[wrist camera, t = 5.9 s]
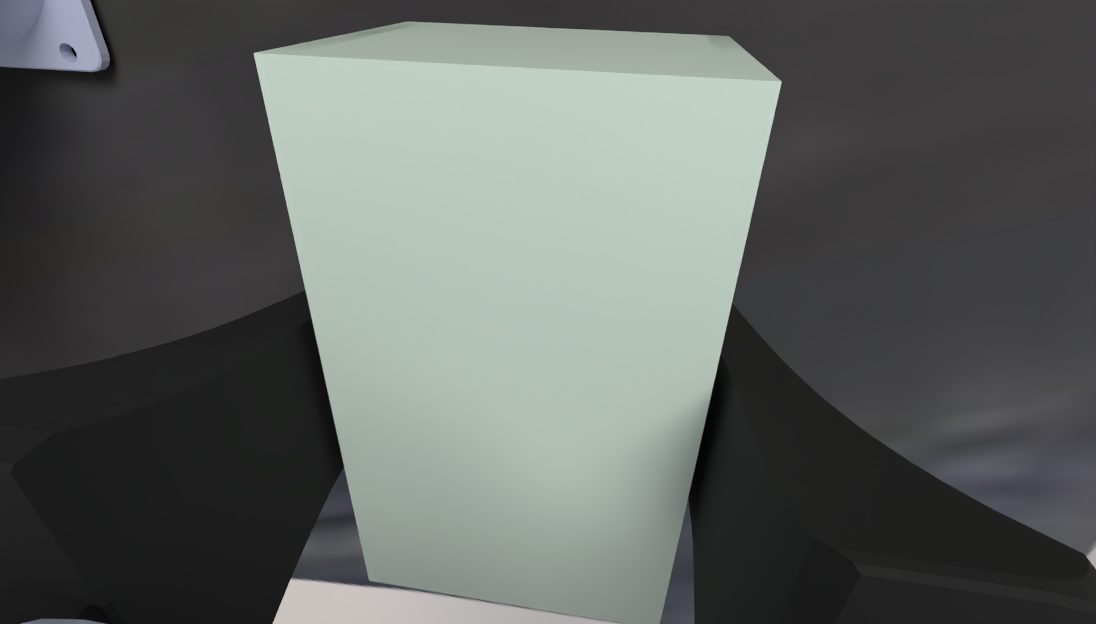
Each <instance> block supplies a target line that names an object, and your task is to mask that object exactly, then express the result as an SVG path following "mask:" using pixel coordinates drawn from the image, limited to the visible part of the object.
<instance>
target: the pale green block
mask: <svg viewBox="0 0 1096 624" xmlns="http://www.w3.org/2000/svg"><path fill="white" fill-rule="evenodd" d="M254 57H255V61H256V66H257V71H258V75H259V80H260V84H261V89H262V93H263V98H264V103H265V107H266V112H267V116H268V121H269V125H270V130H271V135H272V139H273V144H274V148H275V153H276V157H277V162H278V167H279V171H280V176H281V180H282V185H283V189H284V194H285V199H286V203H287V208H288V212H289V217H290V221H291V226H292V231H293V235H294V240H295V244H296V249H297V253H298V258H299V263H300V267H301V272H302V276H303V281H304V285H305V290H306V295H307V299H308V304H309V308H310V313H311V317H312V322H313V327H314V331H315V336H316V340H317V345H318V349H319V354H320V359H321V363H322V368H323V372H324V377H325V381H326V386H327V391H328V395H329V400H330V404H331V409H332V413H333V418H334V423H335V427H336V432H337V436H338V441H339V445H340V450H341V455H342V459H343V464H344V468H345V473H346V477H347V482H348V487H349V491H350V496H351V500H352V505H353V509H354V514H355V519H356V523H357V528H358V532H359V537H360V541H361V546H362V551H363V555H364V560H365V564H366V569H367V573H368V578H369V581H374V582H380V583H386V584H392V585H398V586H404V587H410V588H415V589H421V590H427V591H433V592H439V593H445V594H451V595H457V596H463V597H469V598H475V599H481V600H487V601H492V602H498V603H504V604H510V605H516V606H522V607H528V608H534V609H540V610H546V611H552V612H558V613H563V614H569V615H575V616H581V617H587V618H593V619H599V620H605V621H611V622H617V623H623V624H660V620H661V616H662V612H663V607H664V603H665V598H666V594H667V589H668V585H669V580H670V576H671V572H672V567H673V563H674V558H675V554H676V549H677V545H678V540H679V536H680V531H681V527H682V523H683V518H684V514H685V509H686V505H687V500H688V496H689V491H690V487H691V483H692V478H693V474H694V469H695V465H696V460H697V456H698V451H699V447H700V443H701V438H702V434H703V429H704V425H705V420H706V416H707V411H708V407H709V403H710V398H711V394H712V389H713V385H714V380H715V376H716V371H717V367H718V363H719V358H720V354H721V349H722V345H723V340H724V336H725V331H726V327H727V322H728V318H729V314H730V309H731V305H732V300H733V296H734V291H735V287H736V282H737V278H738V274H739V269H740V265H741V260H742V256H743V251H744V247H745V242H746V238H747V234H748V229H749V225H750V220H751V216H752V211H753V207H754V202H755V198H756V194H757V189H758V185H759V180H760V176H761V171H762V167H763V162H764V158H765V154H766V149H767V145H768V140H769V136H770V131H771V127H772V122H773V118H774V113H775V109H776V105H777V100H778V96H779V91H780V87H781V81H780V80H779V79H778V78H777V77H776V76H774V75H773V74H772V73H771V72H770V71H769V70H767V69H766V68H765V67H764V66H763V65H762V64H760V63H759V62H758V61H757V60H756V59H755V58H753V57H752V56H751V55H750V54H749V53H748V52H746V51H745V50H744V49H743V48H742V47H741V46H739V45H738V44H737V43H736V42H735V41H734V40H732V39H731V38H730V37H729V36H714V35H692V34H670V33H648V32H626V31H604V30H582V29H560V28H538V27H515V26H493V25H471V24H449V23H427V22H403V23H398V24H393V25H389V26H384V27H379V28H374V29H369V30H364V31H359V32H354V33H349V34H345V35H340V36H335V37H330V38H325V39H320V40H315V41H310V42H306V43H301V44H296V45H291V46H286V47H281V48H276V49H271V50H266V51H262V52H257V53H254Z"/></svg>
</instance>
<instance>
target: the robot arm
mask: <svg viewBox="0 0 1096 624" xmlns="http://www.w3.org/2000/svg"><path fill="white" fill-rule="evenodd" d="M71 47H72V48H73V49H74V50H75V52H76V54H77V57H76V56H74V54H73V52H72V50H71ZM109 62H110V58H109V53H108V50H107V47H106V44H105V41H104V39H103V36H102V33H101V30H100V27H99V24H98V22H97V19H96V16H95V13H94V10H93V8H92V5H91V2H90V0H0V67H15V68H31V69H48V70H65V71H82V72H95V71H100V70H105V69H106V68H107V67H108V66H109ZM343 467H344V464H343V459H342V455H341V450H340V445H339V441H338V436H337V432H336V427H335V423H334V418H333V413H332V409H331V404H330V400H329V395H328V391H327V386H326V381H325V377H324V372H323V368H322V363H321V359H320V354H319V349H318V345H317V340H316V336H315V331H314V327H313V322H312V317H311V313H310V308H309V304H308V299H307V295H306V290H305V291H303V292H300V293H298V294H296V295H294V296H292V297H289V298H287V299H285V300H283V301H280V302H278V303H275V304H273V305H271V306H268V307H266V308H264V309H261V310H259V311H256V312H254V313H252V314H249V315H247V316H244V317H242V318H240V319H237V320H234V321H232V322H229V323H227V324H224V325H221V326H218V327H216V328H213V329H210V330H207V331H204V332H201V333H198V334H195V335H192V336H189V337H186V338H182V339H179V340H176V341H173V342H169V343H166V344H162V345H158V346H154V347H151V348H147V349H143V350H139V351H135V352H132V353H128V354H124V355H120V356H116V357H113V358H109V359H104V360H100V361H95V362H91V363H86V364H81V365H77V366H72V367H67V368H62V369H56V370H51V371H46V372H40V373H35V374H29V375H23V376H17V377H11V378H5V379H0V624H272V623H273V621H274V618H275V616H276V613H277V611H278V608H279V606H280V603H281V601H282V599H283V596H284V594H285V591H286V589H287V586H288V583H289V581H290V579H291V577H292V574H293V572H294V570H295V567H296V565H297V563H298V561H299V558H300V556H301V554H302V551H303V549H304V547H305V545H306V542H307V540H308V538H309V535H310V533H311V531H312V529H313V527H314V525H315V523H316V520H317V518H318V516H319V514H320V512H321V510H322V508H323V506H324V503H325V501H326V499H327V497H328V495H329V493H330V491H331V489H332V487H333V485H334V483H335V482H336V480H337V478H338V476H339V474H340V473H341V471H342V469H343ZM688 499H689V507H690V515H691V523H692V535H693V557H694V605H695V624H1096V569H1095V568H1094V566H1093V565H1092V564H1091V562H1090V561H1089V560H1088V559H1087V557H1086V556H1085V555H1084V554H1083V553H1081V552H1079V551H1077V550H1075V549H1073V548H1071V547H1069V546H1066V545H1064V544H1062V543H1060V542H1058V541H1056V540H1054V539H1052V538H1050V537H1048V536H1046V535H1044V534H1042V533H1040V532H1038V531H1036V530H1034V529H1032V528H1030V527H1028V526H1026V525H1024V524H1021V523H1019V522H1017V521H1015V520H1013V519H1011V518H1009V517H1007V516H1005V515H1003V514H1001V513H999V512H997V511H995V510H993V509H991V508H989V507H987V506H986V505H984V504H982V503H980V502H978V501H976V500H975V499H973V498H971V497H969V496H968V495H966V494H964V493H962V492H960V491H959V490H957V489H955V488H953V487H952V486H950V485H948V484H946V483H944V482H943V481H941V480H939V479H938V478H936V477H934V476H933V475H931V474H929V473H928V472H926V471H924V470H923V469H921V468H919V467H918V466H916V465H914V464H913V463H911V462H910V461H908V460H907V459H905V458H904V457H902V456H901V455H899V454H898V453H896V452H895V451H893V450H892V449H890V448H889V447H887V446H886V445H884V444H883V443H881V442H880V441H878V440H877V439H875V438H874V437H872V436H871V435H870V434H868V433H867V432H865V431H864V430H863V429H861V428H860V427H859V426H857V425H856V424H855V423H853V422H852V421H851V420H849V419H848V418H847V417H846V416H844V415H843V414H842V413H841V412H839V411H838V410H837V409H836V408H834V407H833V406H832V405H831V404H829V403H828V402H827V401H826V400H824V399H823V398H822V397H821V396H820V395H819V394H817V393H816V392H815V391H814V390H813V389H812V388H811V387H810V386H809V385H808V384H807V383H805V382H804V381H803V380H802V379H801V378H800V377H799V376H798V375H797V374H796V373H795V372H794V371H793V370H792V369H791V368H790V367H789V366H788V365H787V364H786V363H785V362H784V361H783V360H782V359H781V358H780V357H779V356H778V355H777V354H776V353H775V352H774V351H773V350H772V349H771V348H770V347H769V345H768V344H767V343H766V342H765V341H764V340H763V339H762V338H761V337H760V335H759V334H758V333H757V332H756V331H755V330H754V329H753V327H752V326H751V325H750V324H749V323H748V321H747V320H746V319H745V318H744V317H743V316H742V314H741V313H740V312H739V311H738V310H737V308H736V307H735V306H734V305H733V304H732V305H731V309H730V314H729V318H728V322H727V327H726V331H725V336H724V340H723V345H722V349H721V354H720V358H719V363H718V367H717V371H716V376H715V380H714V385H713V389H712V394H711V398H710V403H709V407H708V411H707V416H706V420H705V425H704V429H703V434H702V438H701V443H700V447H699V451H698V456H697V460H696V465H695V469H694V474H693V478H692V483H691V487H690V491H689V496H688Z"/></svg>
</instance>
